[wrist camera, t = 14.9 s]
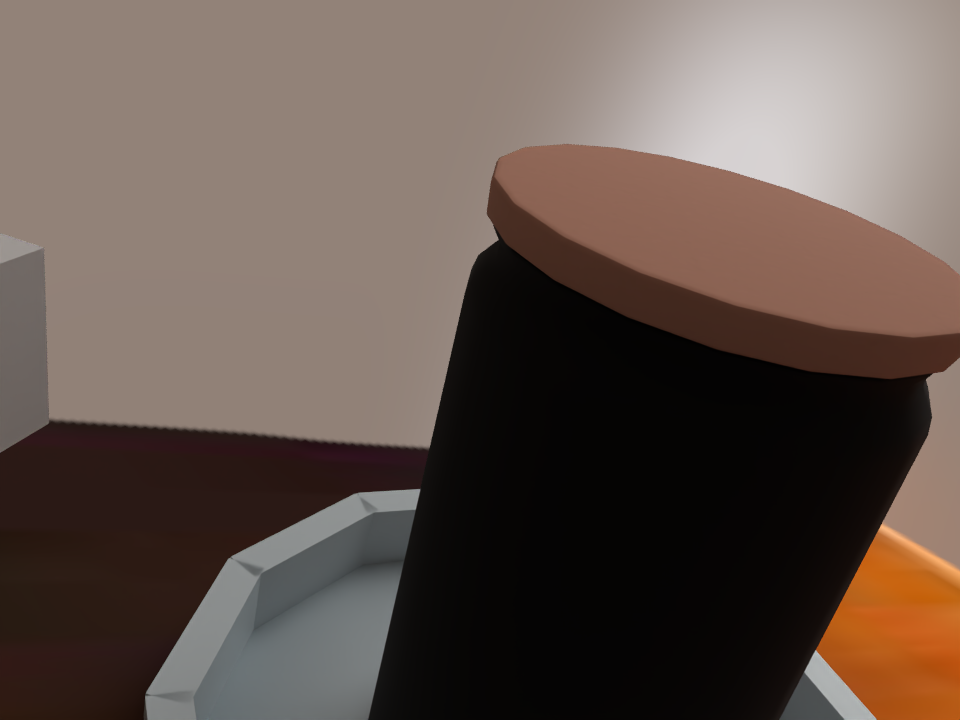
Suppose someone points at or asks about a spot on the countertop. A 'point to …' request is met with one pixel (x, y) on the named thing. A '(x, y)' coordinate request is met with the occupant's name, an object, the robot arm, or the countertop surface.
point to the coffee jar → (658, 443)
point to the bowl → (334, 626)
